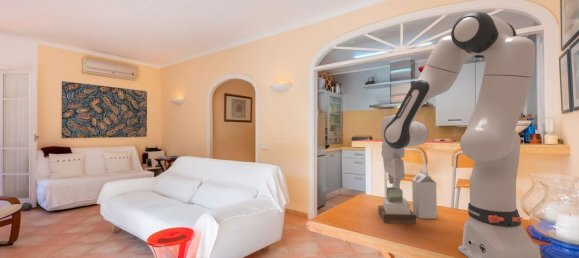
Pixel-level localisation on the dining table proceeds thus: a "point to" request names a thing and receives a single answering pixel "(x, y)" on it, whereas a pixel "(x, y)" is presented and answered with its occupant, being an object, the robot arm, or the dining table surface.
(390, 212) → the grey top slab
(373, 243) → the dining table surface
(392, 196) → the sage cube
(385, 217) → the walnut base slab
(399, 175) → the robot arm
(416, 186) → the milk carton
